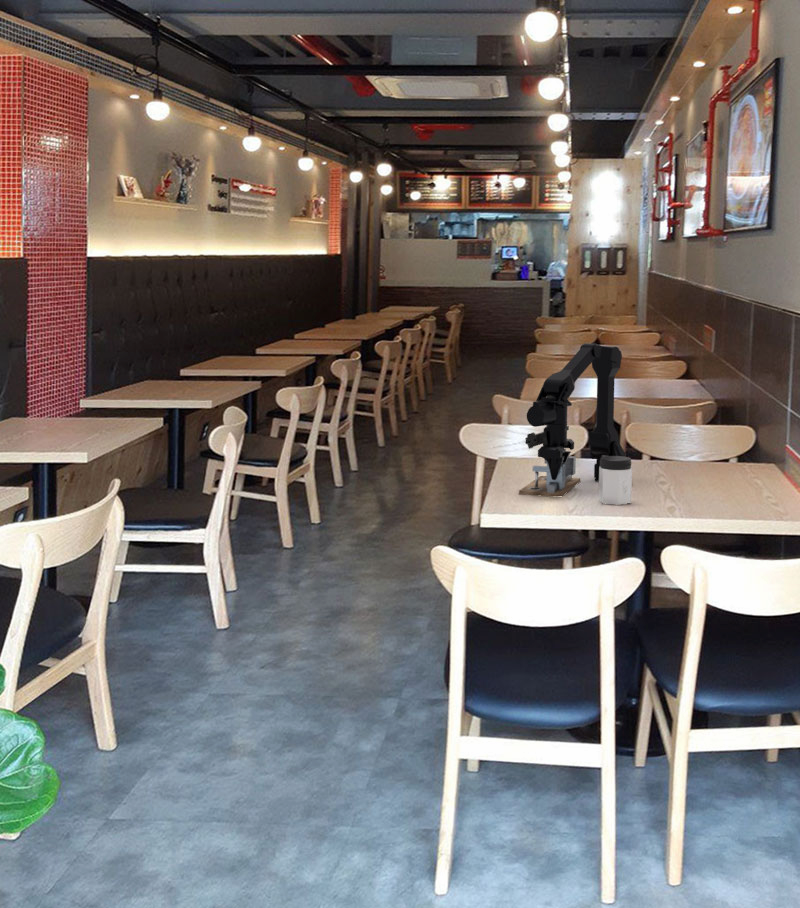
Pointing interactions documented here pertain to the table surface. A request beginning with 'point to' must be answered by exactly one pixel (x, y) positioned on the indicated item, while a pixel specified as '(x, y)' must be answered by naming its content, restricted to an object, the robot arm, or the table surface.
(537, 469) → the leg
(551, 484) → the beam
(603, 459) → the jar
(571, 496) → the table surface
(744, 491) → the table surface
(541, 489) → the hole plate
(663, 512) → the table surface
